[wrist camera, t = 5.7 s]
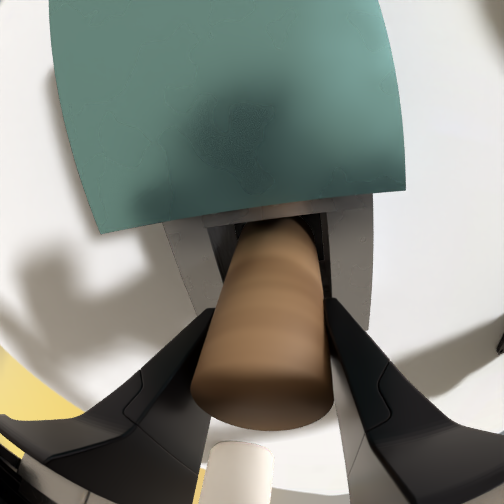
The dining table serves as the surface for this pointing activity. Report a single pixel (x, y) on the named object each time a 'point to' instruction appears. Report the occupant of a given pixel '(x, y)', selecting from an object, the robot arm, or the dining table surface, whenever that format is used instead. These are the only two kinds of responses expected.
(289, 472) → the dining table surface
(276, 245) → the peg
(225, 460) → the alcohol
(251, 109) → the station
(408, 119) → the dining table surface
